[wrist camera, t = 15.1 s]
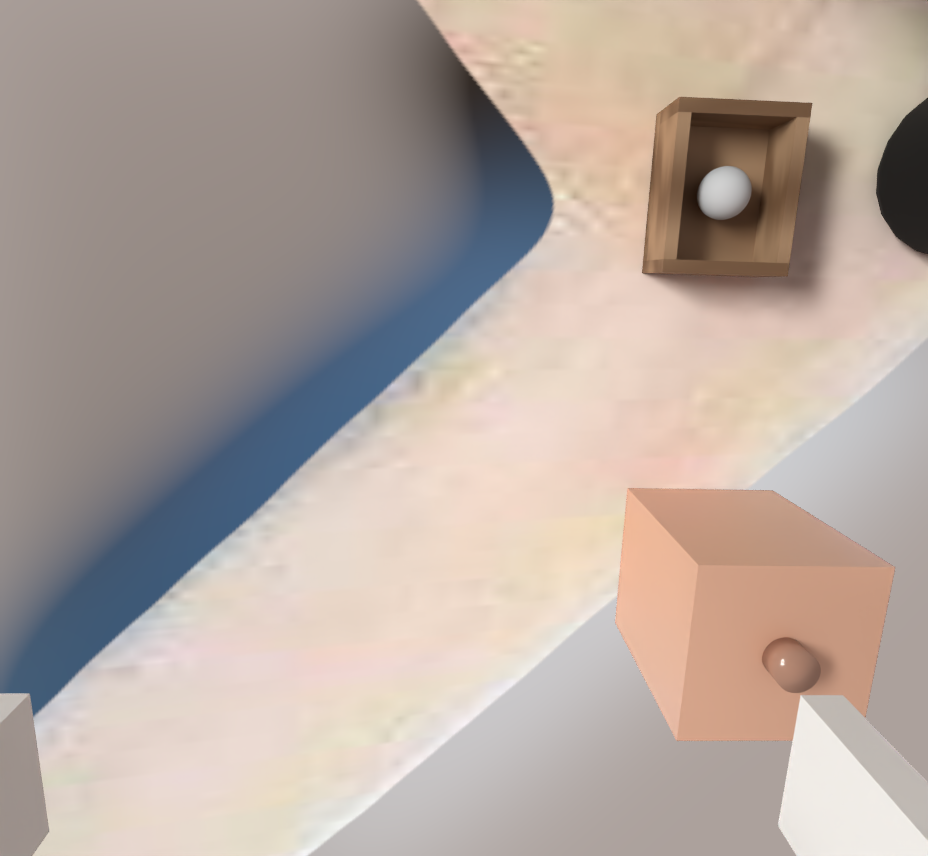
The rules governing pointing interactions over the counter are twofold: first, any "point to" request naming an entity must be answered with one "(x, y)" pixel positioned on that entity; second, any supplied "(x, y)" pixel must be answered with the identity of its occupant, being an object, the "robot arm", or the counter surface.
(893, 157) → the coffee jar
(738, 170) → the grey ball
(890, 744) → the robot arm
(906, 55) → the counter surface
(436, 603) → the counter surface
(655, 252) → the walnut open box
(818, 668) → the cube with knob
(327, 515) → the counter surface
